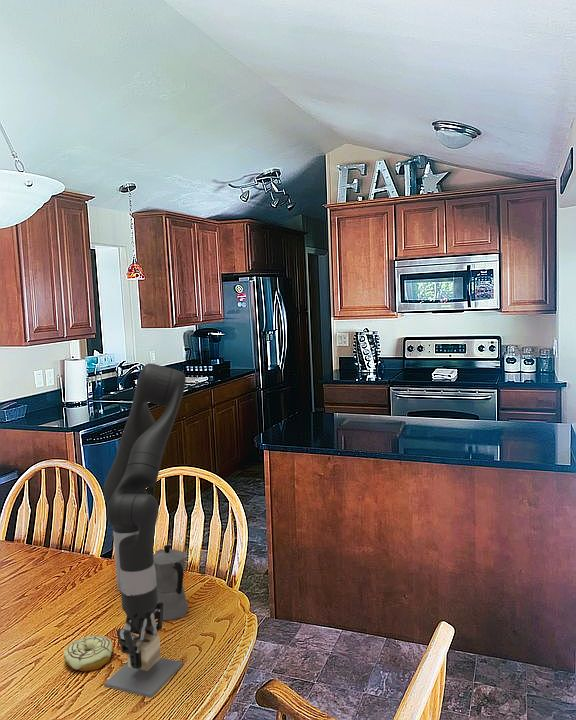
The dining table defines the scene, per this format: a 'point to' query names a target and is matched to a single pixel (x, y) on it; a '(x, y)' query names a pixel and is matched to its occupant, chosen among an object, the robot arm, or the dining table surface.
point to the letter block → (148, 651)
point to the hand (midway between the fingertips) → (144, 660)
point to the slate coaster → (144, 677)
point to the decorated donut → (88, 653)
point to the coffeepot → (170, 582)
